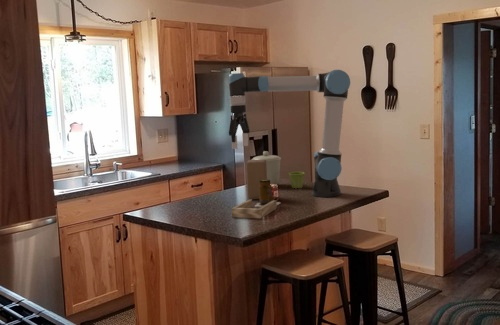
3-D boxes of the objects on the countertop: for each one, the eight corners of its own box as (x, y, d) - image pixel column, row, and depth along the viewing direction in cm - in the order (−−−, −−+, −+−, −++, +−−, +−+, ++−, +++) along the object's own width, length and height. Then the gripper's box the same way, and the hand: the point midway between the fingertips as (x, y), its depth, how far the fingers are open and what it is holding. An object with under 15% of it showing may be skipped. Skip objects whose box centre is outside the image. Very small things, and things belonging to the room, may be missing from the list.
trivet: (280, 203, 260) (280, 202, 260) (273, 207, 251) (273, 206, 250) (262, 202, 264) (261, 201, 264) (254, 206, 254) (254, 205, 254)
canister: (246, 187, 312) (244, 152, 309) (266, 182, 325) (264, 149, 322) (269, 189, 300) (267, 153, 297) (288, 184, 313) (287, 149, 310)
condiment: (269, 201, 262) (268, 178, 260) (277, 204, 254) (275, 180, 253) (256, 203, 259) (254, 180, 257) (263, 206, 251) (262, 182, 250)
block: (268, 195, 282) (266, 159, 279) (266, 199, 272) (265, 161, 269) (249, 196, 283) (247, 159, 280) (247, 199, 273) (245, 162, 270)
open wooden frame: (276, 208, 248) (276, 200, 248) (260, 218, 230) (260, 209, 229) (249, 207, 254) (249, 199, 253) (232, 217, 235) (231, 208, 235)
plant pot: (307, 186, 303) (306, 171, 302) (302, 189, 295) (301, 174, 294) (292, 186, 307) (291, 171, 306) (286, 189, 298) (286, 174, 297)
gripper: (241, 104, 271) (243, 144, 274) (220, 106, 248) (222, 150, 251) (254, 103, 268) (256, 144, 271) (234, 105, 245) (236, 150, 248)
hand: (240, 147), depth 261 cm, fingers open, 13 cm apart
